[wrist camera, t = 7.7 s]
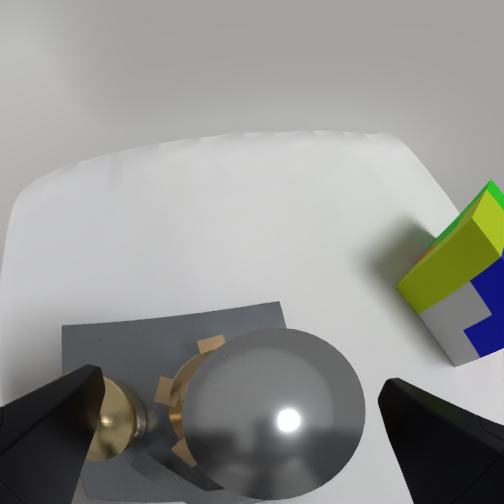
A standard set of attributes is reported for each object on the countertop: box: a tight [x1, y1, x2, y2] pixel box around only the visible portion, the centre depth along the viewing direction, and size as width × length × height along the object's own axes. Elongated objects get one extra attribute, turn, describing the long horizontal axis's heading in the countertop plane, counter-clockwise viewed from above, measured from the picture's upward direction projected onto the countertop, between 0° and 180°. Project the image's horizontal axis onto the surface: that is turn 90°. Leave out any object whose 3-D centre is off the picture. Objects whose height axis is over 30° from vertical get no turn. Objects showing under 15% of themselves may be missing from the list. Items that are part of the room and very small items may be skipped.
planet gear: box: [154, 328, 365, 500], centre depth 9 cm, size 8×7×12 cm
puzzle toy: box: [395, 180, 504, 367], centre depth 18 cm, size 10×10×10 cm
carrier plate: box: [58, 301, 286, 504], centre depth 12 cm, size 12×16×5 cm
